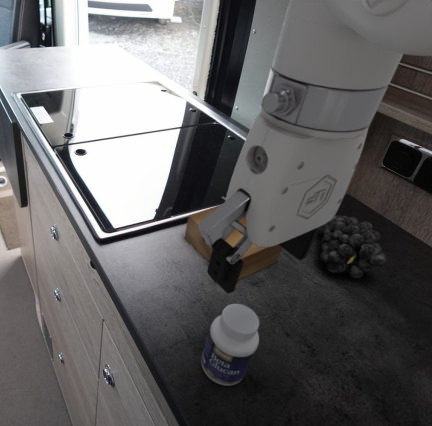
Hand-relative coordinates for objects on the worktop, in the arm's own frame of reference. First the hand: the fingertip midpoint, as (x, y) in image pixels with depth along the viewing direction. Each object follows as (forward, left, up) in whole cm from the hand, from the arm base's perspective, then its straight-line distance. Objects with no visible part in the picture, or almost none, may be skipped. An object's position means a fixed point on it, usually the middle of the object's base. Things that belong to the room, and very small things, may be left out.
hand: (256, 266), depth 37 cm
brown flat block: (+16, -17, -17) cm, 29 cm away
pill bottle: (-1, +1, -17) cm, 17 cm away
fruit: (+5, -31, -17) cm, 36 cm away
